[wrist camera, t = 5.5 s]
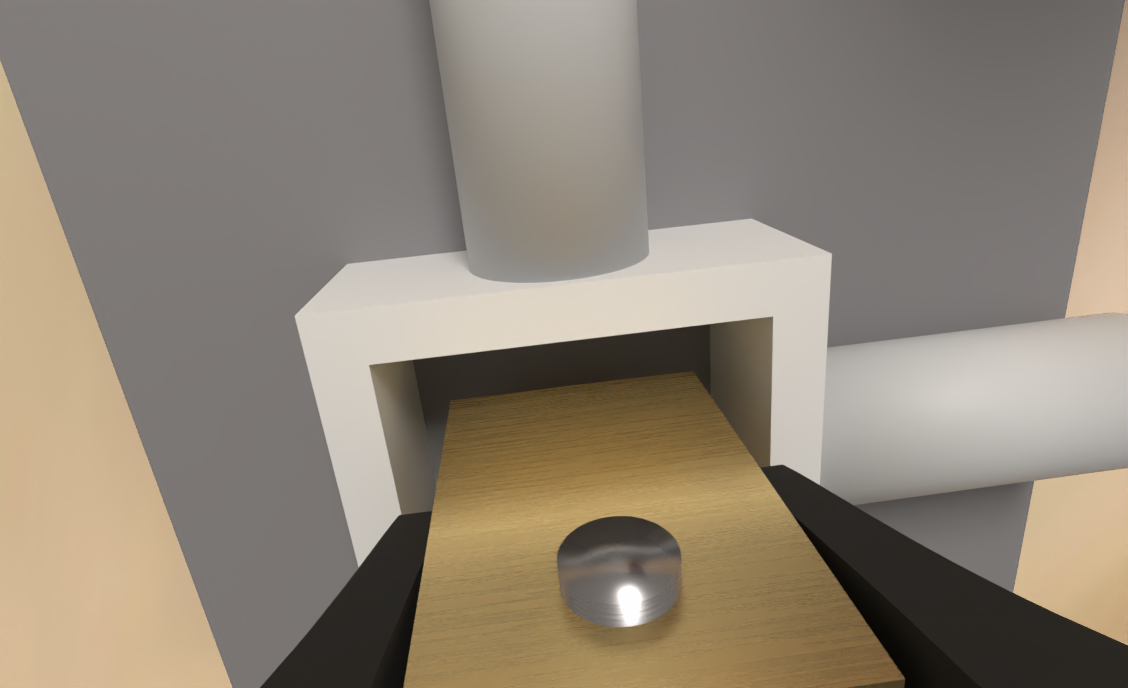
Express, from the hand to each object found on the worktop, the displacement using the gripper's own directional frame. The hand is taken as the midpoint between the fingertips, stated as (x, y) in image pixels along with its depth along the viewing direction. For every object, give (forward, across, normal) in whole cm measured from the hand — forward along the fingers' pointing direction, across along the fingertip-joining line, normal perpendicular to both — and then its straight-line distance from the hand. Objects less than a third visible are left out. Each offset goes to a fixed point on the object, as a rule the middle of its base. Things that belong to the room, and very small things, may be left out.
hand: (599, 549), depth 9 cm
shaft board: (+5, -1, -3) cm, 6 cm away
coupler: (+2, 0, 0) cm, 2 cm away
